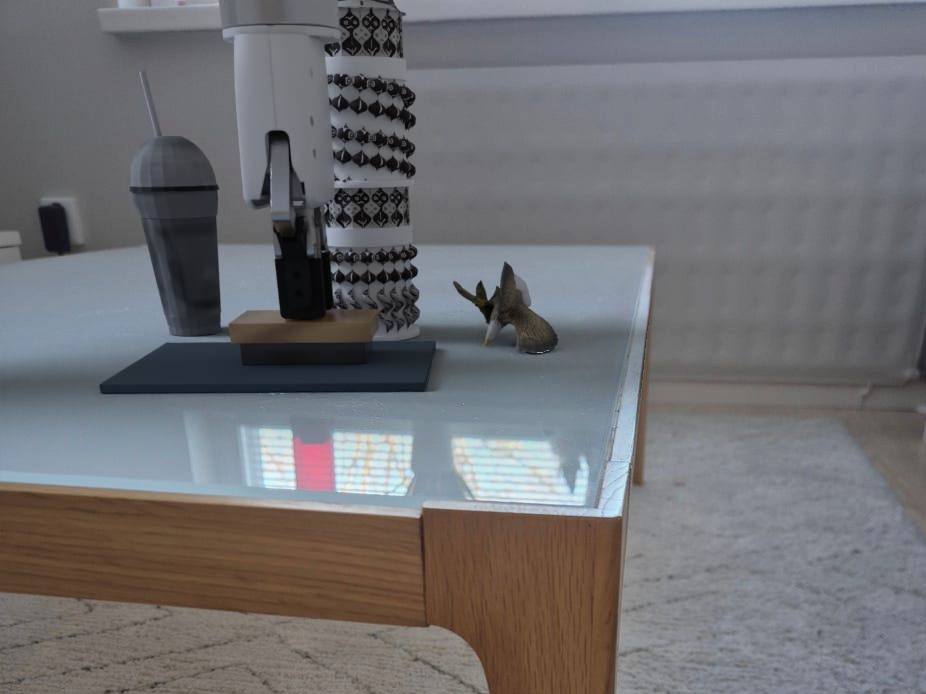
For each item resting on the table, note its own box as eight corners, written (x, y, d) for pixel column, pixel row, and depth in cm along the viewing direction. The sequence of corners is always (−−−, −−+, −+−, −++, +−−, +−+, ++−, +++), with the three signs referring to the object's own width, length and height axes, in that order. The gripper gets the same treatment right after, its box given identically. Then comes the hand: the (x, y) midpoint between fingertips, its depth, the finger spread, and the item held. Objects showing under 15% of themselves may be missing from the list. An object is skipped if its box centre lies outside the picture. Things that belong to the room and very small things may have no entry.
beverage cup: (243, 334, 82) (210, 68, 73) (156, 341, 80) (111, 67, 71) (230, 322, 88) (199, 74, 79) (150, 327, 86) (107, 73, 77)
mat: (100, 393, 63) (98, 384, 63) (167, 350, 77) (165, 342, 76) (425, 391, 63) (424, 382, 63) (436, 347, 76) (435, 340, 76)
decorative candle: (303, 342, 79) (270, -18, 67) (337, 323, 87) (313, -1, 75) (409, 345, 78) (393, -23, 66) (433, 326, 86) (424, -5, 74)
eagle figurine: (432, 326, 79) (481, 321, 71) (467, 247, 78) (520, 233, 70) (504, 370, 82) (557, 369, 75) (537, 294, 82) (594, 286, 74)
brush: (233, 366, 68) (216, 231, 64) (251, 350, 73) (236, 224, 69) (372, 365, 68) (363, 229, 63) (379, 349, 73) (372, 223, 69)
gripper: (250, 29, 68) (278, 298, 76) (186, -2, 53) (230, 335, 62) (354, 27, 67) (371, 297, 76) (318, -4, 53) (344, 333, 62)
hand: (308, 311), depth 69 cm, fingers closed on brush, 3 cm apart
